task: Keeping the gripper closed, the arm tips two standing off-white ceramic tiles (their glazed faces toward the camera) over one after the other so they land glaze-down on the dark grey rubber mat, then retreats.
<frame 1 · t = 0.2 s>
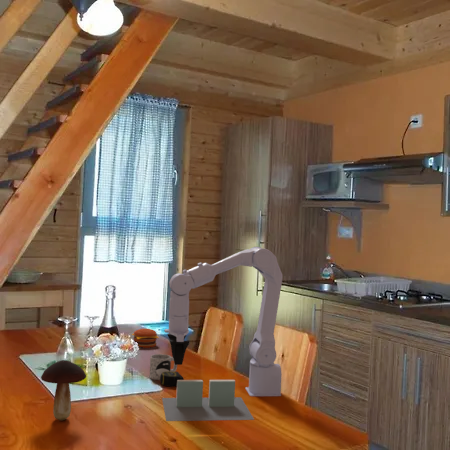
hand: (177, 360, 169), 10 cm above the table, tool pointing down, fingers open, 7 cm apart
tile 1: (221, 405, 160), resting on mat
decorative mushroom: (61, 420, 145), on the table
mat: (206, 409, 157), on the table
tile 2: (188, 405, 158), resting on mat
tape measure: (172, 385, 179), on the table
mug: (164, 377, 187), on the table
hamburger: (144, 345, 229), on the table
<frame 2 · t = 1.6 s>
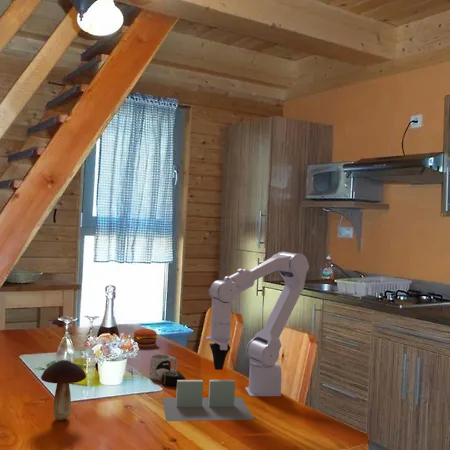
hand: (218, 369, 167), 9 cm above the table, tool pointing down, fingers closed
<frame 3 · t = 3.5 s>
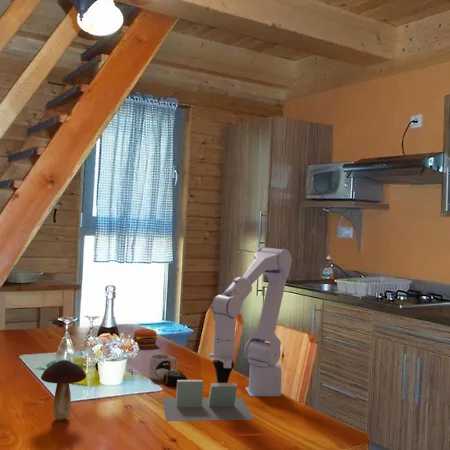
hand: (222, 387, 160), 6 cm above the table, tool pointing down, fingers closed
tile 1: (221, 404, 160), point 1 cm above the table, tilted 24°, touching mat
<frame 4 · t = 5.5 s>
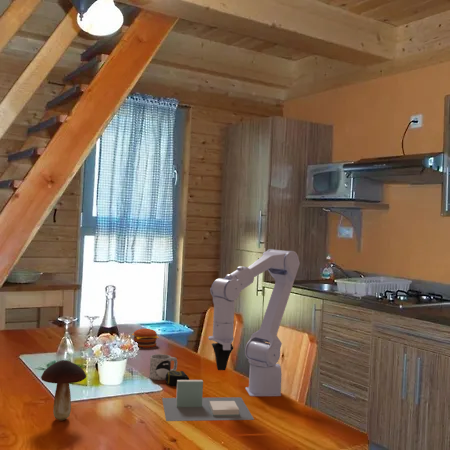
hand: (221, 369, 162), 10 cm above the table, tool pointing down, fingers closed
tile 1: (221, 403, 159), point 1 cm above the table, tilted 90°, touching mat
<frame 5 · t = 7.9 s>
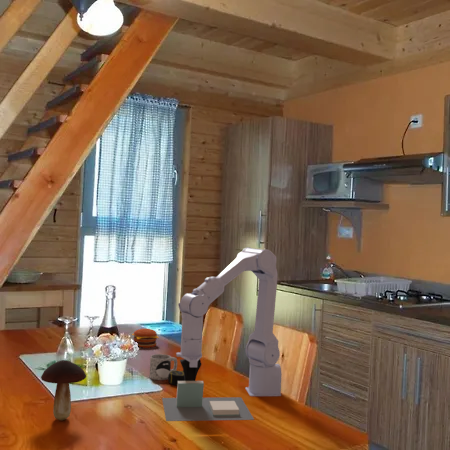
hand: (189, 386, 159), 6 cm above the table, tool pointing down, fingers closed
tile 2: (189, 405, 158), point 1 cm above the table, tilted 12°, touching mat
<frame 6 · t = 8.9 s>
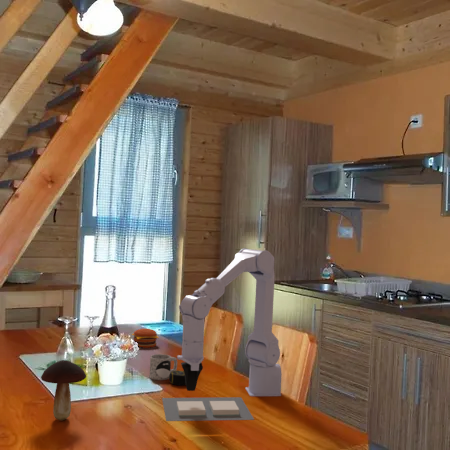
hand: (190, 390, 156), 6 cm above the table, tool pointing down, fingers closed
tile 2: (189, 404, 157), point 1 cm above the table, tilted 90°, touching mat
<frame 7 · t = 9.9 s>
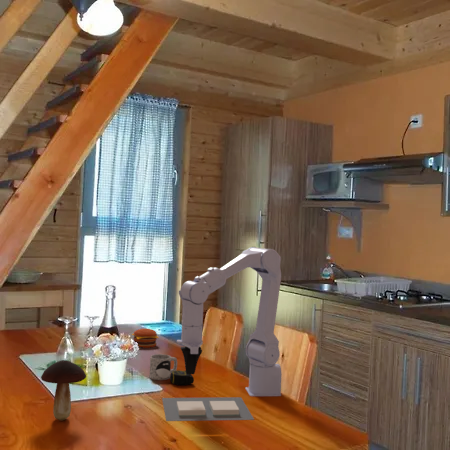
hand: (190, 373, 159), 9 cm above the table, tool pointing down, fingers closed
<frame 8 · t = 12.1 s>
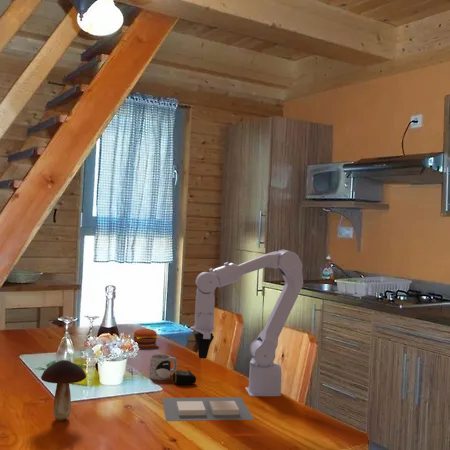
hand: (202, 357, 172), 10 cm above the table, tool pointing down, fingers closed
at the end: tile 1 tilted 90°; tile 2 tilted 90°; tile 1 inside the target area (3.1 cm from its centre), point 1.2 cm above the table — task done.
